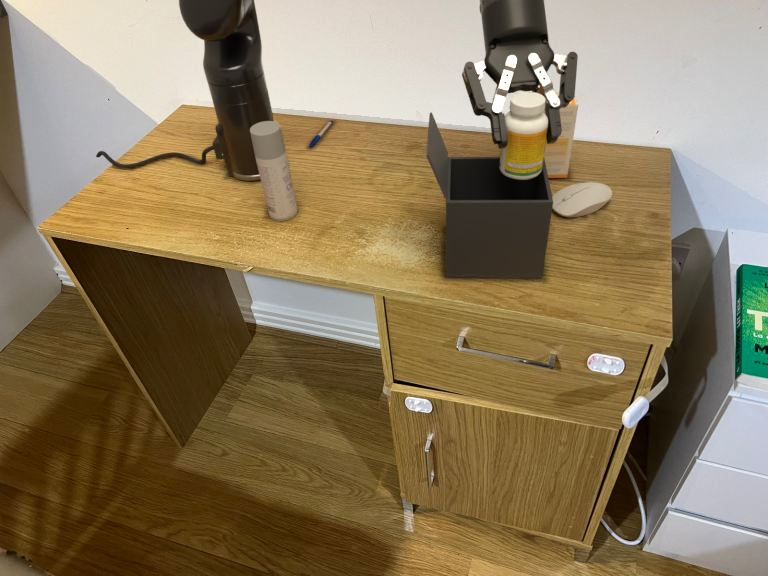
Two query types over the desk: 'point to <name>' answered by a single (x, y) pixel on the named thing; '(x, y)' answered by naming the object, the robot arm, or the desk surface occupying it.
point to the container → (274, 170)
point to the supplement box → (562, 143)
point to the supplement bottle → (524, 136)
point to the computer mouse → (581, 199)
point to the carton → (495, 221)
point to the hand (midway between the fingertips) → (528, 143)
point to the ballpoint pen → (319, 135)
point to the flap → (437, 155)
